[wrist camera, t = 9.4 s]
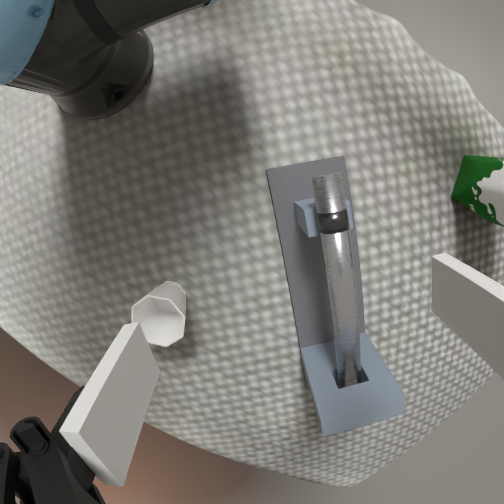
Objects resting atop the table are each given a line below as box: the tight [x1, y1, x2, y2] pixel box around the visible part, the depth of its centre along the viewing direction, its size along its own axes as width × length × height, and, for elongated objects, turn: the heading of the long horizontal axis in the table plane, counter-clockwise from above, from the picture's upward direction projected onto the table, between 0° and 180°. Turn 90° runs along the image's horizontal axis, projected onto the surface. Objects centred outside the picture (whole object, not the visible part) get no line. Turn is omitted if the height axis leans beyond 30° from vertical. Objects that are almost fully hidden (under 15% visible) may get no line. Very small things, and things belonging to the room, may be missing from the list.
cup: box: [131, 281, 187, 347], centre depth 39 cm, size 7×10×8 cm
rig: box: [266, 156, 406, 437], centre depth 35 cm, size 34×10×16 cm, turn 12°
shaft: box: [311, 173, 362, 389], centre depth 33 cm, size 26×3×3 cm, turn 12°
